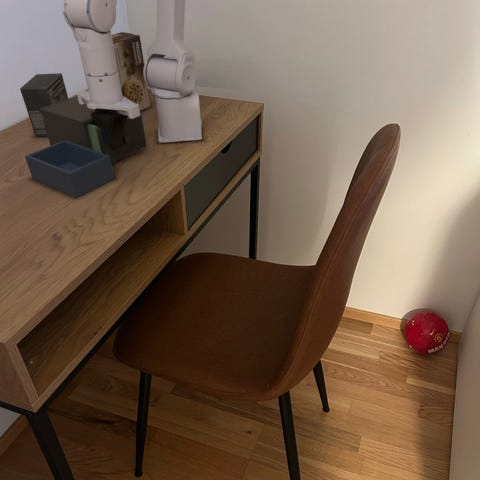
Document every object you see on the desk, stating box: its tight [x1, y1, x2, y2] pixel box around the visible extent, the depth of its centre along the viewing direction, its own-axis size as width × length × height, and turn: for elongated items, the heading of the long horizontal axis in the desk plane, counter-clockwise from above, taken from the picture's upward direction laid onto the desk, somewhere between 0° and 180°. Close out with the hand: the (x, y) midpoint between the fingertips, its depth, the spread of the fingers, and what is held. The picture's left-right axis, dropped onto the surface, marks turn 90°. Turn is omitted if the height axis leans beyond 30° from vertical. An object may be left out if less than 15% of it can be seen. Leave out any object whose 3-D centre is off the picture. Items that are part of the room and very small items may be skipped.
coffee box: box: [112, 31, 151, 112], centre depth 113 cm, size 9×6×16 cm
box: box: [24, 140, 115, 199], centre depth 89 cm, size 13×9×5 cm
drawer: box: [86, 112, 147, 164], centre depth 97 cm, size 14×11×7 cm
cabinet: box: [40, 95, 95, 149], centre depth 99 cm, size 13×12×8 cm
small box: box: [19, 72, 69, 137], centre depth 107 cm, size 11×6×10 cm, turn 178°
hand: (116, 148), depth 92 cm, fingers closed
